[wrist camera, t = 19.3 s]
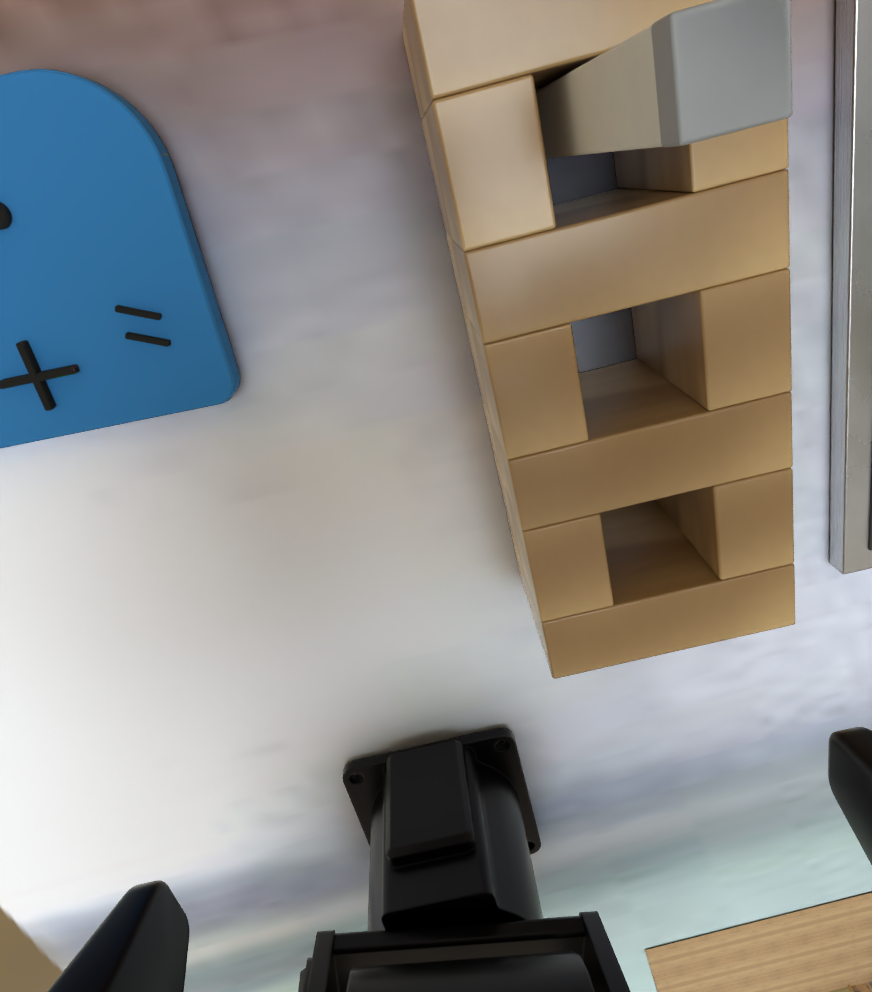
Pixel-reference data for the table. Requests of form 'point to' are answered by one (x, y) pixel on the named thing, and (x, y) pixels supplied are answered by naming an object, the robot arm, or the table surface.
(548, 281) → the pen stand
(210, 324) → the handheld gaming device
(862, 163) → the tablet
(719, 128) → the grey square stick
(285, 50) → the table surface
